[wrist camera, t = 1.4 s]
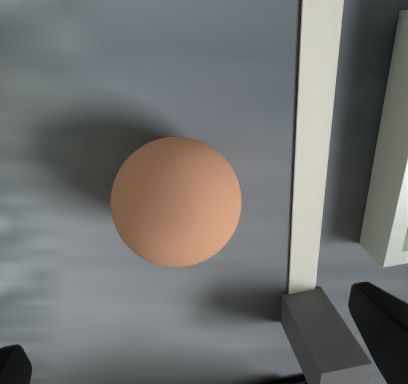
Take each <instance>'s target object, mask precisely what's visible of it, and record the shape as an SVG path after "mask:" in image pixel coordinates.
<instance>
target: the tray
mask: <svg viewBox="0 0 408 384" xmlns="http://www.w3.org/2000/svg"><path fill="white" fill-rule="evenodd" d="M359 244H360V245H361V246H362V247H363V248H364V249H365V250H366V251H367V252H368V253H369V254H370V255H371V256H372V257H373V258H374V259H375V260H376V261H377V262H378V263H379V264H380V265H381V266H382V267H388V266H394V265H399V264H405V263H408V10H400V11H399V17H398V23H397V29H396V34H395V40H394V46H393V52H392V58H391V63H390V69H389V75H388V81H387V86H386V92H385V98H384V104H383V110H382V115H381V121H380V127H379V133H378V139H377V144H376V150H375V156H374V162H373V167H372V173H371V179H370V185H369V191H368V196H367V202H366V208H365V214H364V220H363V225H362V231H361V237H360V243H359Z"/></svg>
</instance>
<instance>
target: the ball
mask: <svg viewBox="0 0 408 384" xmlns="http://www.w3.org/2000/svg"><path fill="white" fill-rule="evenodd" d="M110 201H111V213H112V218H113V221H114V224H115V227H116V229H117V231H118V233H119V235H120V237H121V238H122V240H123V241H124V242H125V244H126V245H127V246H128V247H129V248H130V249H131V250H132V251H133V252H135V253H136V254H137V255H138V256H140V257H142V258H143V259H145V260H147V261H149V262H152V263H154V264H157V265H161V266H166V267H184V266H190V265H194V264H197V263H200V262H202V261H205V260H207V259H208V258H210V257H212V256H213V255H215V254H216V253H217V252H218V251H219V250H220V249H222V248H223V247H224V246H225V244H226V243H227V242H228V241H229V239H230V238H231V236H232V235H233V233H234V231H235V229H236V226H237V224H238V221H239V218H240V212H241V191H240V186H239V182H238V180H237V177H236V175H235V173H234V171H233V169H232V167H231V166H230V164H229V163H228V162H227V161H226V159H225V158H224V157H223V156H222V155H221V154H220V153H219V152H218V151H217V150H215V149H214V148H212V147H211V146H209V145H207V144H205V143H203V142H201V141H198V140H195V139H192V138H186V137H166V138H161V139H157V140H154V141H151V142H149V143H147V144H145V145H143V146H142V147H140V148H139V149H137V150H136V151H135V152H134V153H133V154H131V155H130V156H129V157H128V158H127V159H126V161H125V162H124V163H123V164H122V166H121V168H120V169H119V171H118V173H117V175H116V177H115V180H114V183H113V186H112V192H111V200H110Z"/></svg>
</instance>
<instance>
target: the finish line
mask: <svg viewBox="0 0 408 384" xmlns="http://www.w3.org/2000/svg"><path fill="white" fill-rule="evenodd" d="M343 4H344V0H302V9H301V30H300V52H299V74H298V95H297V117H296V139H295V160H294V182H293V204H292V225H291V247H290V269H289V291H288V293H287V294H282V304H281V324H282V326H283V329H284V331H285V333H286V335H287V338H288V340H289V342H290V344H291V347H292V349H293V351H294V353H295V356H296V358H297V360H298V362H299V365H300V367H301V369H302V371H303V374H304V376H305V378H306V380H307V383H308V384H367V381H368V377H369V373H370V369H371V365H372V363H371V361H370V360H369V358H368V357H367V355H366V354H365V352H364V351H363V349H362V348H361V346H360V345H359V343H358V342H357V340H356V339H355V337H354V336H353V334H352V333H351V331H350V330H349V328H348V327H347V325H346V324H345V322H344V321H343V320H342V318H341V317H340V315H339V314H338V312H337V311H336V309H335V308H334V306H333V305H332V303H331V302H330V300H329V299H328V297H327V296H326V294H325V293H324V291H323V290H322V288H321V287H320V288H315V285H316V275H317V265H318V255H319V245H320V235H321V225H322V215H323V205H324V195H325V185H326V175H327V165H328V154H329V144H330V134H331V124H332V114H333V104H334V94H335V84H336V74H337V64H338V54H339V44H340V34H341V24H342V14H343Z"/></svg>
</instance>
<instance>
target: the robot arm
mask: <svg viewBox="0 0 408 384" xmlns="http://www.w3.org/2000/svg"><path fill="white" fill-rule="evenodd" d="M348 306H349V311H350V314H351V316H352V318H353V320H354V322H355V324H356V326H357V328H358V330H359V332H360V334H361V336H362V338H363V340H364V342H365V344H366V346H367V348H368V350H369V352H370V354H371V356H372V358H373V360H374V362H375V363H376V365H377V367H378V369H379V371H380V372H381V374H382V376H383V377H384V379H385V380H386V382H387V384H408V303H406V302H404V301H403V300H401V299H399V298H397V297H395V296H393V295H392V294H390V293H388V292H386V291H384V290H382V289H381V288H379V287H377V286H375V285H373V284H372V283H370V282H359V283H354V284H353V285H352V286H351V291H350V297H349V303H348ZM31 374H32V366H31V362H30V361H29V359H28V357H27V355H26V353H25V352H24V350H23V348H22V346H20V345H19V344H16V345H10V346H5V347H2V348H0V384H30V379H31ZM270 384H308V383H307V380H306V378H305V377H300V378H295V379H290V380H285V381H280V382H275V383H270Z"/></svg>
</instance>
